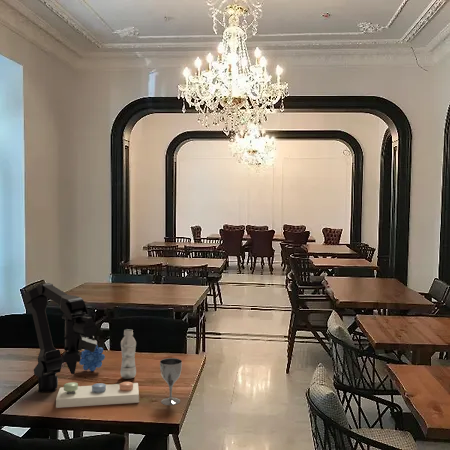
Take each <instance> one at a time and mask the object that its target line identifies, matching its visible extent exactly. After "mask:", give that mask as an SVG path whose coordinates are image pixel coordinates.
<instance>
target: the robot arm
mask: <svg viewBox="0 0 450 450" xmlns="http://www.w3.org/2000/svg"><path fill="white" fill-rule="evenodd" d="M49 300H50V301H51V302H54V303H55V304H57V305H58V306H59V310H60V311H61V312H62V313H63V315H62V316H61V318H62V319H64V320H65V321H64V336H63V338H64V339H63V340H64V349H63V350H64V353H63V354H62V355H61V350H60V349H57V348H56V347H54V344H53V340H52V339H53V338H52V335H51V330H50V325H49V320H48V316H47V313H46V311H47V307H48V304H49V302H48V301H49ZM23 303H24V305H25V308H26V310H27V311H29V313H30V314H32V318H33V323H34V327H35V333H36V338H37V341H38V346H39V354H38V357H37V364H36V365H35V367H34V369H33V375H34V376H35V377H37V378H38V379H37V380H38V381H37V383H38V386H37V387H38V389H37V393H51V392H56V390H57V389H58V386H59V376H58V375H57V373H58V374H59V373H61V370H62V366H63V363H65V364H66V365H67V368H68V369H69V372H70V374H71V375H75V373H76V369H77V363H79V362H80V360H81V355H82V351H83V350H84V349H85V350H88V351H90V352H94V351H95V348H96V345H98V341H97V340H96V339H95V334H96V332H97V330H98V325H97V323H96V322H95V321H93V317H92V316H91V315H90V313H89V312H90V311H89V309H88V308H87V307H88V306H87V305H86V303H85V300H84V299H83V298H82V297H81V296H78V295H71V294H68V293H66V292H64V291H63V290H61V289H59V288H58V287H56V286H54V284H53V283H51V282H47V283H40V284H38V285H37V286H36V287H34V288H33V289H30V290H29V291H28V290H27V291H26V292H25V294H24V295H23Z"/></svg>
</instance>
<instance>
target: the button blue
mask: <svg viewBox="0 0 450 450" xmlns="http://www.w3.org/2000/svg"><path fill="white" fill-rule="evenodd" d="M106 385H107V384H105V383H103V382H101V383H100V382H98V383H94V384H92V385H91V386H92V391H93V392H103V391H105V390H106Z"/></svg>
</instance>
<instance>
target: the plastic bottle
mask: <svg viewBox="0 0 450 450" xmlns="http://www.w3.org/2000/svg"><path fill="white" fill-rule="evenodd" d="M133 331H134V330H133V329H128V328H126V329H124V330H123V337H122V339H121V341H120V348H121V366H120V377H121V378H122V379H124V380H130V379H134V378H135V377H136V376H137V367H136V359H135V357H136V349H137V348H136V347H137V341H136V339H135V337H134V332H133Z"/></svg>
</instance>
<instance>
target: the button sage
mask: <svg viewBox="0 0 450 450" xmlns="http://www.w3.org/2000/svg"><path fill="white" fill-rule="evenodd" d="M78 386H79V383H78V382H67V383H64V384H63V387H64V391H67V394H74V391H75V390H77V389H78Z"/></svg>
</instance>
